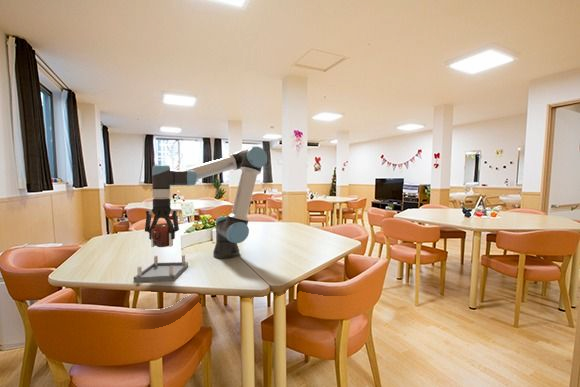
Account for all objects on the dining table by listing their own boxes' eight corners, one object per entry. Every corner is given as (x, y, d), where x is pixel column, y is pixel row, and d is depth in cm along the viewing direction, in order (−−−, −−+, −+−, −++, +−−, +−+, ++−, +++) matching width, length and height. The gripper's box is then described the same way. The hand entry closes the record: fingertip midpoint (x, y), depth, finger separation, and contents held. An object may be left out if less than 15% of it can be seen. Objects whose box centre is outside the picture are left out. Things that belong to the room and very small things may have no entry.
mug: (161, 243, 131) (161, 222, 130) (177, 244, 129) (177, 223, 129) (143, 249, 119) (143, 226, 119) (160, 250, 117) (160, 227, 117)
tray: (188, 265, 135) (187, 254, 135) (173, 280, 116) (173, 267, 115) (154, 266, 134) (153, 255, 134) (133, 281, 114) (133, 268, 114)
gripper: (186, 197, 128) (186, 244, 129) (143, 197, 126) (144, 244, 127) (180, 198, 120) (181, 247, 121) (135, 198, 119) (136, 248, 120)
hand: (162, 246), depth 124 cm, fingers closed on mug, 7 cm apart
